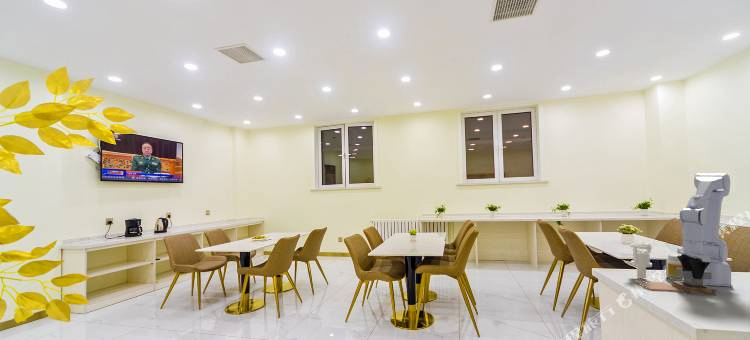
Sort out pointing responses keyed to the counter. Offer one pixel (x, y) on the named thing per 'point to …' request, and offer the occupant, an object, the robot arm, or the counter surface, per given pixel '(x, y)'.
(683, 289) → the walnut holder
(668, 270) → the supplement bottle
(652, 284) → the terracotta coaster
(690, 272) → the dark grey block
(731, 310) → the counter surface
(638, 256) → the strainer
